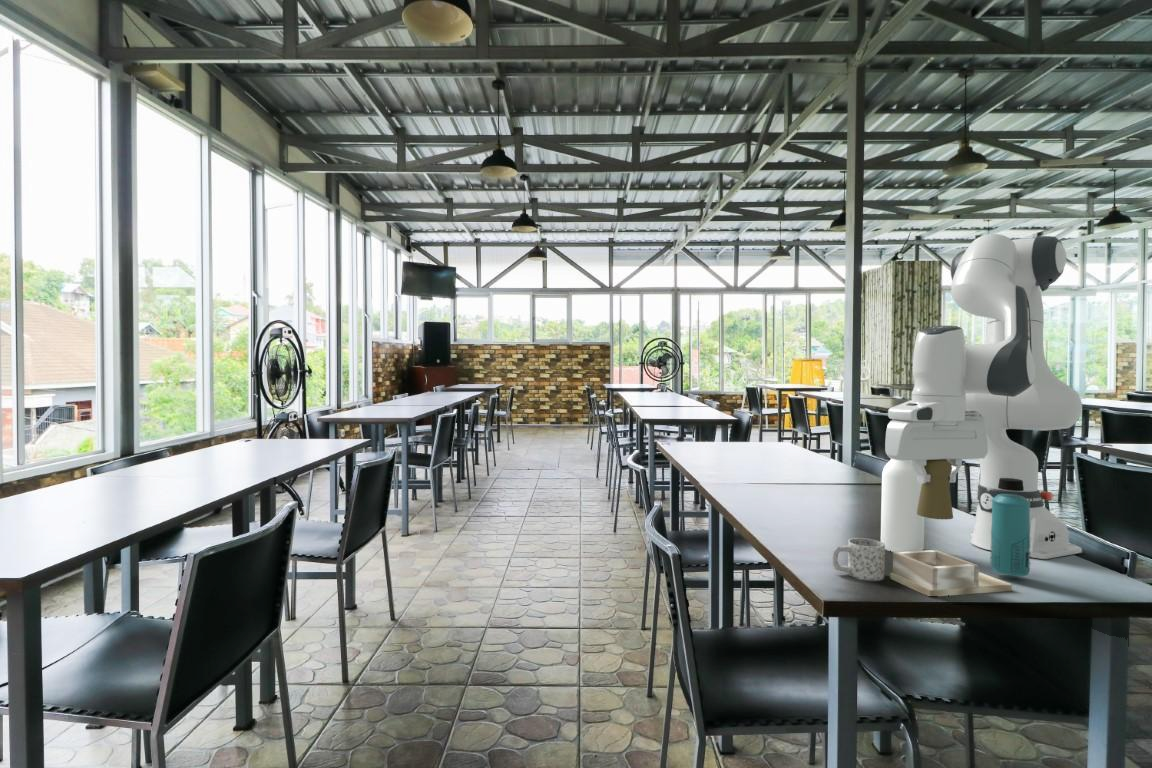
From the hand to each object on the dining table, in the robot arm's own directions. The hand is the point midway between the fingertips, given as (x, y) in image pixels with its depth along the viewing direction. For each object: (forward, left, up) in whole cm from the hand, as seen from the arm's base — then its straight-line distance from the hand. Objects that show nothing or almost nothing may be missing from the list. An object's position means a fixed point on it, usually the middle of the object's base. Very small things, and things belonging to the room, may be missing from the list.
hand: (936, 482), depth 116 cm
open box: (-3, 0, -20) cm, 20 cm away
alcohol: (-11, -22, -20) cm, 32 cm away
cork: (0, 0, -6) cm, 7 cm away
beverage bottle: (-18, -1, -20) cm, 27 cm away
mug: (+11, -8, -20) cm, 24 cm away
